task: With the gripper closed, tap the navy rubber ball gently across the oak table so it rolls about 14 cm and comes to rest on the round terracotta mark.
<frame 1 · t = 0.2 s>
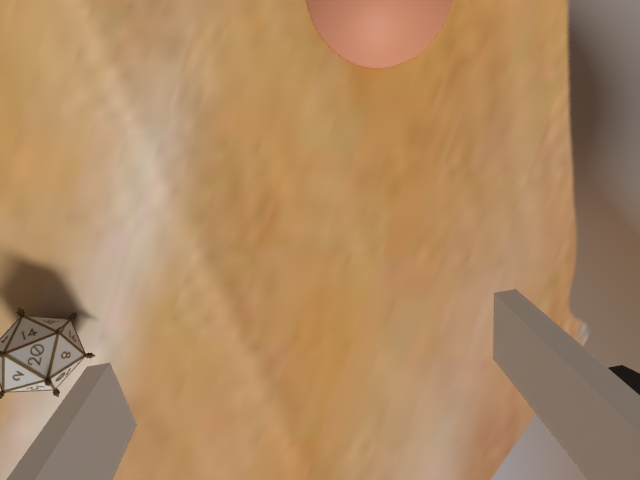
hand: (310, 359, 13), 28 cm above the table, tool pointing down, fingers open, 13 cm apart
game die: (61, 329, 43), on the table
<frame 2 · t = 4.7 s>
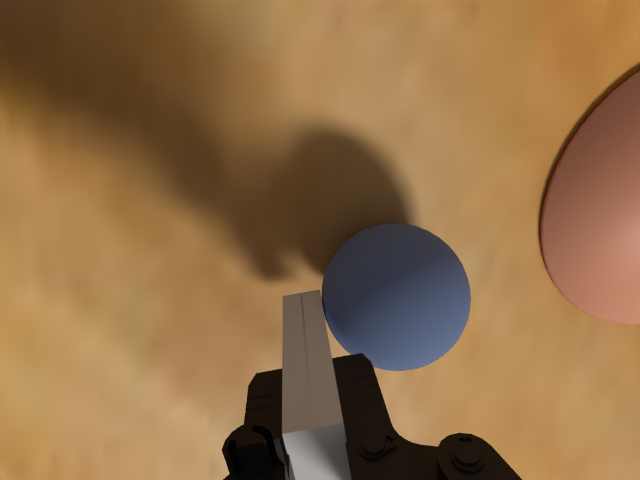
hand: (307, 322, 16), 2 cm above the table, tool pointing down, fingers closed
ball: (393, 295, 15), on the table, touching gripper
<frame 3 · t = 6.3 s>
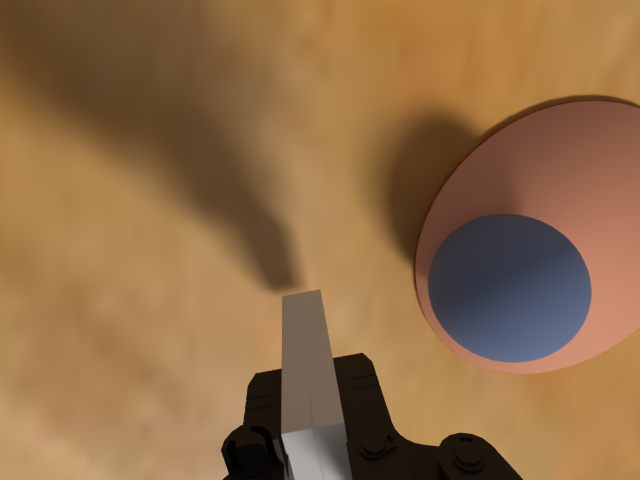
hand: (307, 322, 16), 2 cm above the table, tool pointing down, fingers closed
ball: (503, 286, 15), on the table
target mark: (556, 253, 18), on the table
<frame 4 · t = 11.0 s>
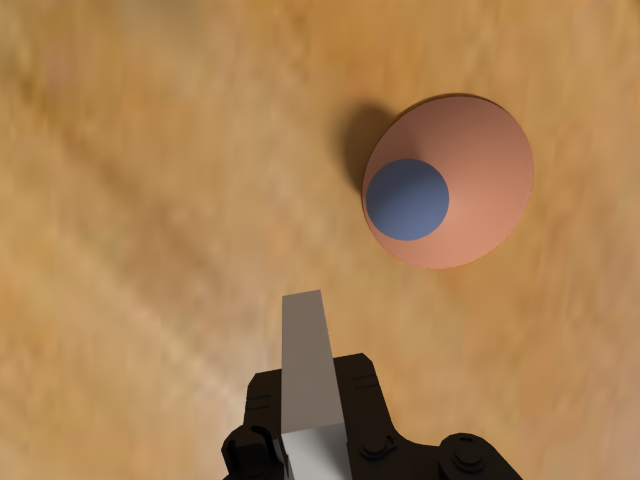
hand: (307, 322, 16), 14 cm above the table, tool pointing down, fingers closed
ball: (406, 200, 26), on the table
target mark: (447, 188, 29), on the table
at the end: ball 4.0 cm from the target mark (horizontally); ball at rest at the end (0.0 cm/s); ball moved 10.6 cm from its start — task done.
